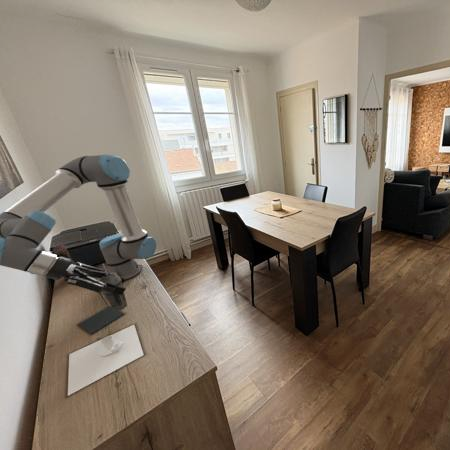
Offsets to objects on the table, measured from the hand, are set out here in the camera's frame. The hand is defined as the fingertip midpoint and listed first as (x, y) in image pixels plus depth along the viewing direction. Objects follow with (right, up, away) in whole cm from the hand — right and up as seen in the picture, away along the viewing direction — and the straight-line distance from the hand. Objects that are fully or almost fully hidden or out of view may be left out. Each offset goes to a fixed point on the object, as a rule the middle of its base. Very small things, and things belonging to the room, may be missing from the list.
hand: (123, 286), depth 96 cm
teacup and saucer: (+2, -21, -11) cm, 24 cm away
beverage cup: (-2, -9, +2) cm, 9 cm away
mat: (-14, -15, +5) cm, 21 cm away
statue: (-57, -5, +39) cm, 69 cm away
